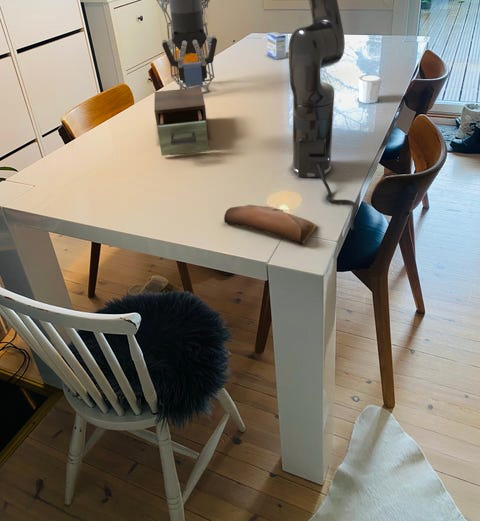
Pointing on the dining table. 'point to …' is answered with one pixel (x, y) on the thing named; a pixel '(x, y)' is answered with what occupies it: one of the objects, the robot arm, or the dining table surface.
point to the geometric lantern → (175, 46)
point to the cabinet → (179, 102)
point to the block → (193, 74)
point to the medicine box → (276, 45)
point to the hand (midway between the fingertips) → (193, 80)
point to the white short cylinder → (369, 88)
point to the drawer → (182, 132)
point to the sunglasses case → (271, 221)
